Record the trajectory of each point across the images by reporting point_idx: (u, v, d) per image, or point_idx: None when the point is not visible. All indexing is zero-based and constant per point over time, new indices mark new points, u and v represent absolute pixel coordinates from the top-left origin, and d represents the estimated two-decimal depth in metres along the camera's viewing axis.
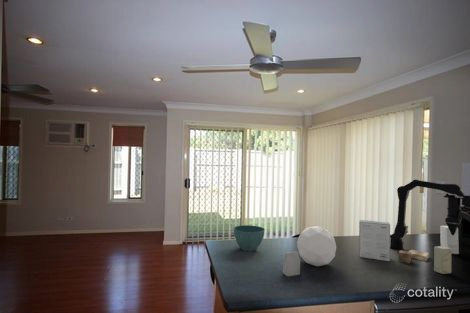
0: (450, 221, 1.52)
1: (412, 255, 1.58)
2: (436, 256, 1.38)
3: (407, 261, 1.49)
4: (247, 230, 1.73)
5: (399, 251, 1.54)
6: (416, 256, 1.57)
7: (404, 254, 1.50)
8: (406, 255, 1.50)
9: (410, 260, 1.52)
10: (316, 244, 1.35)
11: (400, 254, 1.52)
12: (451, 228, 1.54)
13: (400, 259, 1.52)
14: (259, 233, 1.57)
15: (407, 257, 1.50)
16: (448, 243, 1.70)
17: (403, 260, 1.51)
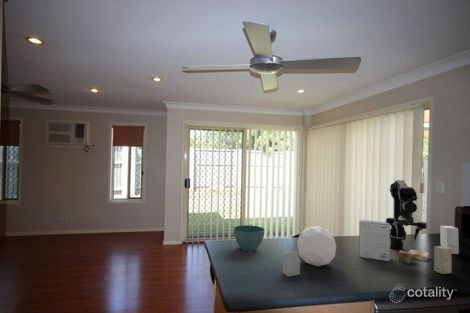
0: None
1: (412, 255, 1.58)
2: (436, 256, 1.38)
3: (407, 261, 1.49)
4: (247, 230, 1.73)
5: (399, 251, 1.54)
6: (416, 256, 1.57)
7: (404, 254, 1.50)
8: (406, 255, 1.50)
9: (410, 260, 1.52)
10: (316, 244, 1.35)
11: (400, 254, 1.52)
12: None
13: (400, 259, 1.52)
14: (259, 233, 1.57)
15: (407, 257, 1.50)
16: (448, 243, 1.70)
17: (403, 260, 1.51)
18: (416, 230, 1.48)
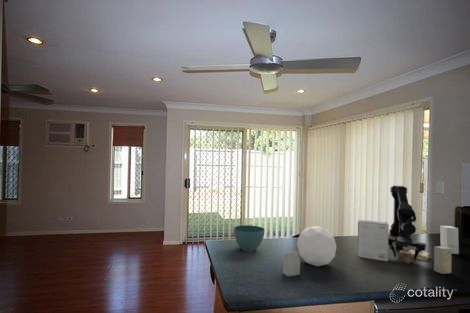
0: None
1: (412, 255, 1.58)
2: (436, 256, 1.38)
3: (407, 261, 1.49)
4: (247, 230, 1.73)
5: (399, 251, 1.54)
6: None
7: (404, 254, 1.50)
8: (406, 255, 1.50)
9: (410, 260, 1.52)
10: (316, 244, 1.35)
11: (400, 254, 1.52)
12: None
13: (400, 259, 1.52)
14: (259, 233, 1.57)
15: (407, 257, 1.50)
16: (448, 243, 1.70)
17: (403, 260, 1.51)
18: (416, 251, 1.47)
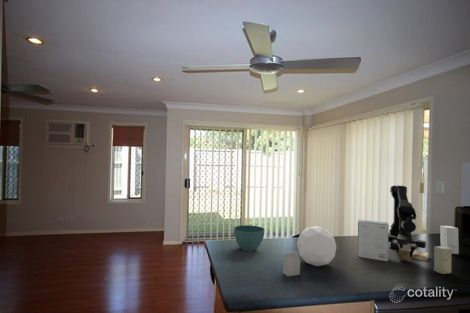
0: None
1: (412, 255, 1.58)
2: (436, 255, 1.38)
3: (407, 258, 1.49)
4: (247, 230, 1.73)
5: (399, 249, 1.54)
6: (416, 256, 1.57)
7: (404, 251, 1.50)
8: (406, 252, 1.50)
9: None
10: (316, 244, 1.35)
11: (400, 251, 1.52)
12: None
13: (400, 256, 1.52)
14: (259, 233, 1.57)
15: (407, 254, 1.49)
16: (448, 243, 1.70)
17: (403, 257, 1.51)
18: (411, 248, 1.49)
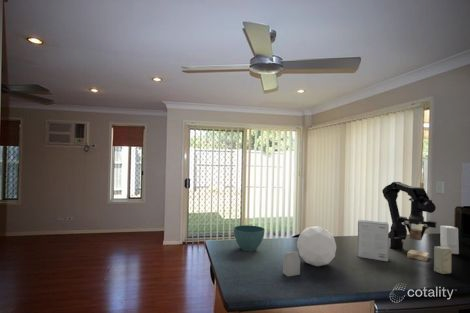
0: None
1: (412, 255, 1.58)
2: (436, 256, 1.38)
3: (418, 238, 1.56)
4: (247, 230, 1.73)
5: (411, 229, 1.61)
6: (416, 256, 1.57)
7: (415, 231, 1.58)
8: (417, 232, 1.57)
9: None
10: (316, 244, 1.35)
11: (412, 231, 1.59)
12: None
13: (412, 236, 1.59)
14: (259, 233, 1.57)
15: (418, 234, 1.57)
16: (448, 243, 1.70)
17: (414, 237, 1.58)
18: (423, 228, 1.56)
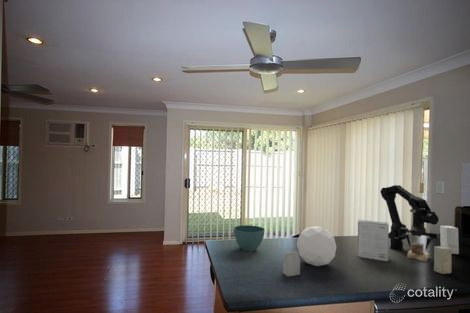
0: None
1: (412, 255, 1.58)
2: (436, 256, 1.38)
3: (420, 252, 1.57)
4: (247, 230, 1.73)
5: (412, 243, 1.62)
6: (416, 256, 1.57)
7: (417, 246, 1.58)
8: (419, 246, 1.58)
9: None
10: (316, 244, 1.35)
11: (413, 246, 1.60)
12: None
13: (413, 250, 1.60)
14: (259, 233, 1.57)
15: (420, 248, 1.57)
16: (448, 243, 1.70)
17: (416, 251, 1.59)
18: (427, 240, 1.56)
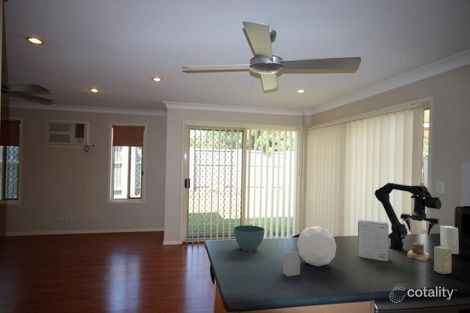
0: None
1: (412, 255, 1.58)
2: (436, 256, 1.38)
3: (421, 252, 1.57)
4: (247, 230, 1.73)
5: (413, 243, 1.61)
6: (416, 256, 1.57)
7: (418, 246, 1.58)
8: (419, 246, 1.58)
9: (423, 251, 1.60)
10: (316, 244, 1.35)
11: (414, 246, 1.60)
12: None
13: (414, 251, 1.59)
14: (259, 233, 1.57)
15: (421, 248, 1.57)
16: (448, 243, 1.70)
17: (417, 251, 1.58)
18: (429, 225, 1.59)
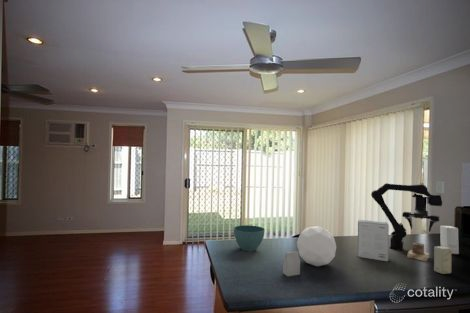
0: None
1: (412, 255, 1.58)
2: (436, 256, 1.38)
3: (421, 252, 1.57)
4: (247, 230, 1.73)
5: (413, 243, 1.61)
6: (416, 256, 1.57)
7: (418, 246, 1.58)
8: (419, 246, 1.58)
9: (423, 251, 1.60)
10: (316, 244, 1.35)
11: (414, 246, 1.60)
12: None
13: (414, 250, 1.59)
14: (259, 233, 1.57)
15: (421, 248, 1.57)
16: (448, 243, 1.70)
17: (417, 251, 1.59)
18: (430, 222, 1.67)
